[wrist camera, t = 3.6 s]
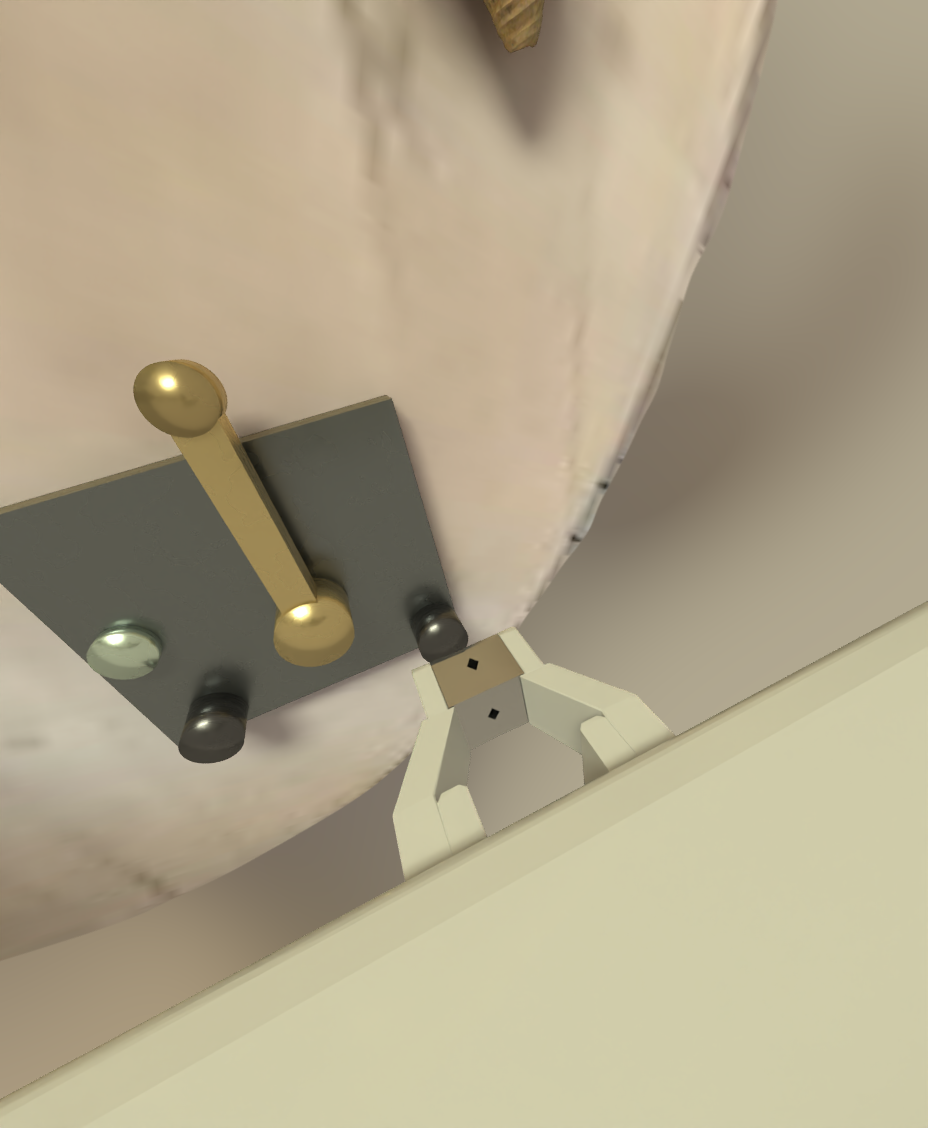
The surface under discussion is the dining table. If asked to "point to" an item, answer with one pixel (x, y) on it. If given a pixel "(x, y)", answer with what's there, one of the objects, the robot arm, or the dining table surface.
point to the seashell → (516, 21)
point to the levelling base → (233, 574)
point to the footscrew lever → (246, 509)
